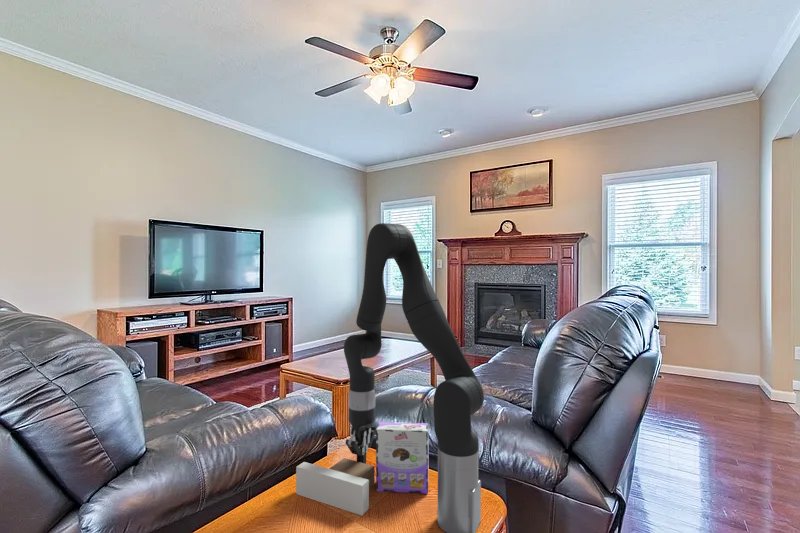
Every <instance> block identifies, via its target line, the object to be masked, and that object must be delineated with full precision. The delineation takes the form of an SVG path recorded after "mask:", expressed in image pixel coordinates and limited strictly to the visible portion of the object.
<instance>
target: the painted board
mask: <svg viewBox="0 0 800 533" xmlns="http://www.w3.org/2000/svg"><path fill="white" fill-rule="evenodd" d="M295 467H296V468H295V469H296V470H295V474H296V475H295V494H296V495H298V496H301V497H304V498H308V499H310V500H313V501H317V502H319V503H323V504H326V505H329V506H331V507H332V506H333V507H334V508H338V509H342V510H343V511H346V512H350V513H353V514H356V515H359V516H363V515H364V514H366V512H368V510H369V509H370V508H369V507H370V506H369V504H370V501H369V500H370V498H369V497H370V488H369V480H368V479H364V478H360V477H357V476H353V475H350V474H346V473H343V472H339V471H335V470H332V469H329V468H328V467H324V466H321V465H319V464H313V463H309V462H306V461H303V462H302V463H300V464H299V465H297V466H295Z"/></svg>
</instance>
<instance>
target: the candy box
mask: <svg viewBox="0 0 800 533" xmlns="http://www.w3.org/2000/svg"><path fill="white" fill-rule="evenodd" d="M375 440H376V441H375V491H377V492H388V493H405V494H406V493H408V494H409V493H410V494H429V471H430V470H429V464H430V463H429V461H430V460H429V459H430V458H429V456H430V454H429V453H430V452H429V423H427V422H423V423H422V422H399V421H398V422H397V421H396V422H395V421H378V425H377V426H376V432H375Z"/></svg>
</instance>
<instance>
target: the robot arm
mask: <svg viewBox="0 0 800 533" xmlns="http://www.w3.org/2000/svg"><path fill="white" fill-rule="evenodd" d="M365 250H366V252H365V253H366V254H365V265H364V277H363V290H362V295H361V299H360V303H359V307H358V312H357V316H356V320H355V321H356V322H355V323H356V326H357V327H358V328H359V329H361V330H363V331H365V333H359V334H352V335H349V336H347V337H346V339H345V340H344V344H343V353H344V357H345V360H346V361H345V362H346V364H347V370H348V374H349V390H348V391H349V392H348V423H349V424H350V425H351V430H350V435H351V436H350V438H349V439H346V440H345V445H346V446H347V448H348V450H349V451H350V452H351V454H352V455H353V454H354V455H355V456H356V461H357V462H361V463H365V464H367V453H368V451H369V449H371V447H372V443H373V441H374V438H375V436H376V429H377V426H374V425H373V424H374V422H376V391H375V387H376V386H375V382H376V381H375V379H376V378H375V377H376V376H375V370H374V369H373V367H371V366H366V365H363V362H362V360H366V359H373V358H375V357H376V356H378V354H380V352H381V349H382V323H383V319H384V315H385V311H386V309H387V308H386V307H387V294H386V288H385V285H384V270H385V266H386V264H387V261H388V260H394V261H395V263H396V265H397V268H398V269H399V271H400V273H401V278H402V296H401V306H402V311H403V313H404V317H405V319H406V322H407V324H408V327H409V328H410V330H411V332H412V334H413V336H414V337H415V338H416V340H417V341H419V342H418V343H420V344H421V345H422V347H424V348H425V349H426V350H427V351H428V352H429V354H430V355H431V356H432V357H433V358H434V360H436V363H437V364H438V366H439V369H440V370H441V372H442V375H443V377H444V380H443V381H442V382H440V383H439V384H438V385H437V387H436V389H435V391H434V395H433V423H434V424H433V425H434V426H433V427H434V435H435V437H436V441H437V513H436V514H437V525H438V526H439V528H440V529H441V530H442V531H443V532H444V533H476V532H477V530H478V528H479V527H480V524H481V522H482V519H481V518H482V517H481V516H482V480H481V479H479V437H478V436H477V434H476V433H475V432H473V431H472V423H471V422H472V421H471V420H472V418H471V416H472V415H474V414H475V413H477V412H479V410H481V408H482V407H483V405H484V402H485V401H484V400H485V395H484V393H485V392H484V389H483V387H482V384H481V382H480V381H479V378H478V377H477V375H476V373H475V372H474V370H473V368H472V367H471V365H470V363H469V361H468V360H467V358H466V356H465V355H464V353H463V351H462V349H461V347H460V345H459V342H458V340H457V338H456V336H455V334H454V332H453V329H452V327H451V325H450V323H449V321H448V318H447V316H446V314H445V311H444V308H443V306H442V305H441V302H440V300H439V299H438V296H437V294H436V292H435V290H434V288H433V286H432V282H431V281H430V279H429V276H428V274H427V272H426V270H425V267H424V264H423V262H422V259H421V256H420V253H419V252H420V251H419V250H418V247H417V243H416V241H415V238H414V236H413V234H412V232H411V230H410V229H409V228H408V227H407V226H406V225H403V224H400V223H384V222H383V223H376V224H375V225H374V226H373V227H372V228H371V229H370V230H369V233H368V237H367V242H366V249H365Z"/></svg>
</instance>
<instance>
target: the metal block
mask: <svg viewBox="0 0 800 533" xmlns="http://www.w3.org/2000/svg"><path fill="white" fill-rule="evenodd" d="M328 469H332V470H335V471H339V472H343V473H346V474H350V475H353V476H357V477H360V478H364V479H368V480H369V489H370V488H371V487H372V486H374V484H375V482H376V465H373V464H372V465H371V464H368V463H366V464H365V463H361V462H357V460H354V459H350V458H346V457H343V458H342V459H341V460H339V461H338V462H336V463H335V464H333V465H332V466H331V467H330V468H328Z"/></svg>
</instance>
